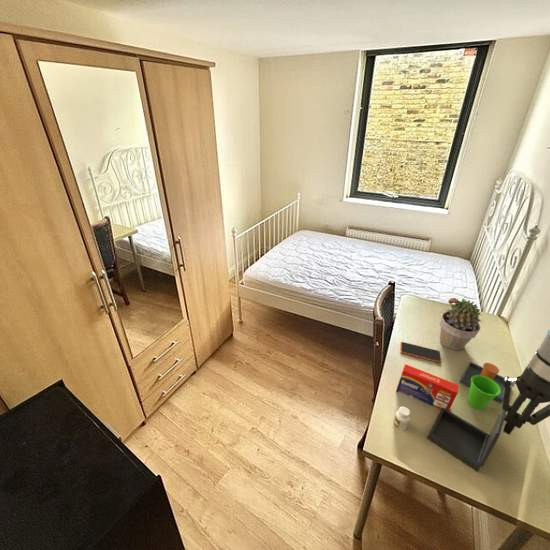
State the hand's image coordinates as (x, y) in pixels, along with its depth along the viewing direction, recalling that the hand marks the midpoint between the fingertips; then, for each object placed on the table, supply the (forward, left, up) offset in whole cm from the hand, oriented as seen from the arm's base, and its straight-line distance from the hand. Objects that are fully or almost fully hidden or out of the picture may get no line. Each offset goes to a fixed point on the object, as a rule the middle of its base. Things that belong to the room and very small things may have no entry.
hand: (507, 429), depth 84 cm
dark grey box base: (+9, 0, -16) cm, 18 cm away
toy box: (+23, -9, -16) cm, 29 cm away
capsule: (+8, -34, -15) cm, 38 cm away
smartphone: (+33, -33, -16) cm, 49 cm away
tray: (+8, -34, -16) cm, 38 cm away
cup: (+8, -20, -16) cm, 27 cm away
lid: (+2, 0, -4) cm, 5 cm away
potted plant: (+24, -51, -16) cm, 59 cm away
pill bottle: (+25, +8, -16) cm, 30 cm away
